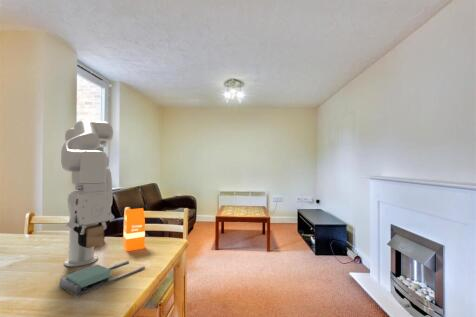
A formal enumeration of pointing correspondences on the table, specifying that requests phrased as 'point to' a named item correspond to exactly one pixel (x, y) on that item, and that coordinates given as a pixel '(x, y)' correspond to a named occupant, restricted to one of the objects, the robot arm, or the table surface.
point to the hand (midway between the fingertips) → (91, 243)
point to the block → (94, 235)
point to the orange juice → (134, 229)
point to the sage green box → (89, 276)
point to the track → (76, 288)
